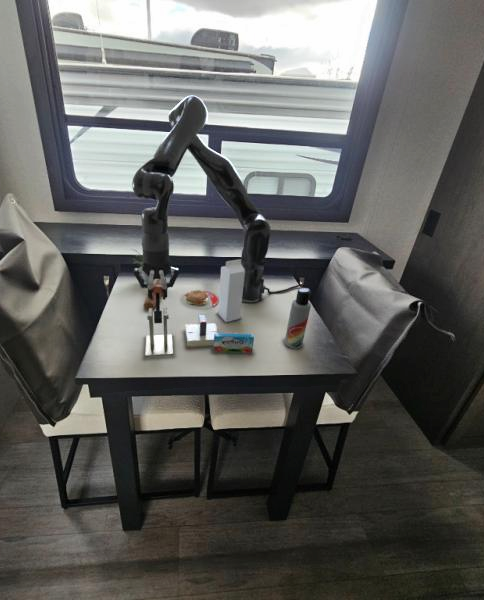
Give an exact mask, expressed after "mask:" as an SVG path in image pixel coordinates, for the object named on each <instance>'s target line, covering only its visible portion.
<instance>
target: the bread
mask: <svg viewBox="0 0 484 600" xmlns="http://www.w3.org/2000/svg"><path fill="white" fill-rule="evenodd" d="M156 285H160V286H161V287H162V288H163V285H162V281H161V279H155V280H153V282H152V289H153V287H154V286H156ZM162 297H163V292H162V294H161V295H160V299H161V298H162ZM143 308H144V309H145V310H146V311H149V308H153V311H155V309H156V295H155V294H153V300H150V298H148V293H147V294H146V296H145V300H144V303H143Z"/></svg>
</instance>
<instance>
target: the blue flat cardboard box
mask: <svg viewBox="0 0 484 600" xmlns="http://www.w3.org/2000/svg"><path fill="white" fill-rule="evenodd" d="M254 341H255V336H254V334H252V333H215V334H214V343H213V345H212V351H219V352H220V351H221V352H222V351H223V352H224V351H225V352H226V354H252V353H253V349H254Z"/></svg>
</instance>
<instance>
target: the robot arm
mask: <svg viewBox="0 0 484 600" xmlns="http://www.w3.org/2000/svg"><path fill="white" fill-rule="evenodd" d="M208 113H209V112H208V109H207V107H206V105H205V103H204V102H203V100H202V99H201V98H200V97H198V96H196V95H188V96H186V97H184V98H183V99H182V100H181V101H180V102H179V103H178V104H176V105H175V106H174V107H173V109H171V110H170V112H168V122H169V125H170V127H171V129H170V131H169V133H168V134H167V135H166V136H165V138H164V139H163V140H162V141H161V142H160V144H159V145H158V147H157V148H156V151H155V153H154V154H153V156H152V157H151V158H150V159H149V160H147V162H145V163H144V164H143V165H141V167H139V168H138V170H137V171H136V172H135V173H134V176H133V177H132V182H131V186H132V191H133V193H134V194H135V196H136V197H138V198H139V199H143V200H150V201H156V205H155V207H153V206H152V207H146V208H144V209H143V210H142V211H141V230H142V231H141V243H142V244H141V248H142V257H143V261H142V262H143V264H142V267H140V266H139V267H134V269H133V275H134V277H135V278H136V280H137V282H138V284H139V286H140V287H141V289H146V290H147V294H148V298H150V300H153V292H152V282H153V279H161V281H162V285H163V294H162V300H165V301H166V299H167V298H168V289H170V288H173V287H174V285H175V283H176V281H177V279H178V276H179V274H180V269H179V267H177V266H176V267H173V266H172V265H171V263H170V237H169V223H168V222H169V221H168V217H169V211H170V206H171V203H172V199H173V195H174V190H175V184H174V181H173V177H174V176H175V174H176V173H177V170H178V168H179V166H180V164H181V163H182V160H183V158H184V156H185V155H186V152H187V150H188V152H189V153H190V154H191V156H192V157H193V158H194V159H195V161H196V162H197V164H198V165H199V166H200V168H201V169H202V171H203V172H204V174H205V175H206V177H207V179H208V181H209V182H210V183H211V185H212V186H213V188H214V190H215V191H216V192H217V193H218V195H219V197H220V198H221V199H222V200H223V201H224V202H225V203H226V204H227V205H228V207H229V208H230V209H231V210H232V211H233V213H234V214H235V216H236V218H237V220H238V221H239V223H240V226H241V227H242V230H243V233H244V239H243V247H242V250H241V253H240V254H241V255H240V259H241V265H242V267H243V268H244V270H245V276H244V285H243V294H242V302H244V303H249V304H251V303H252V304H253V303H257V302H259V301H262V298H263V294H265V291H267V293H268V294H270V295H271V294H280V293H284V292H287V291H290V290H293V289H296V288H299V287H302V288H307V285H305V284H304V283H299V284H297V285H293V286H290V287H288V288H284V289H281V290H276V291H270V288H268V287H266V286H265V284H264V283H265V279H264V271H265V270H264V269H265V263H266V257H267V254H268V251H269V245H270V241H271V240H270V239H271V231H272V230H271V225H270V223H269V222H268V220H267V219H266V218H265V216H263V214H262V213H261V212H260V211H259V210H258V208H257V207H256V205H255V204H254V203H253V202H252V199H251V198H250V196H249V194H248V191H247V189H246V187H245V186H246V185H244V182H243V180H242V178H241V177H240V174H239V172H238V171H237V169H236V168H235V167H234V165H233V163H232V161H230V159H228V158H227V157H225V156H224V155H222V154H221V153H218V152H216V151H215V150H213V149H211V148H210V147H209V146H207V145H206V144H205V142H203V140H202V139H201V138H200V136H199V134H198V133H199V132H200V131H201V130H202V129H203V128H204V126H205V125H206V124H207V123H208V119H209V114H208ZM142 271H144V272H145V273H146V275H147V276H148V277H149V278H148V283H147V282H145V281H144V279H143V277H142ZM170 272H171V276H170V279H169V281H167V276H168V274H169V273H170Z"/></svg>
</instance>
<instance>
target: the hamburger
mask: <svg viewBox="0 0 484 600" xmlns="http://www.w3.org/2000/svg"><path fill="white" fill-rule="evenodd" d="M183 296H184V297H186V303H187V304H189V305H194V306H195V305H196V306H201V305H208V304H209V298H210V301H211V305H212V306H213V307H214V306H216V305H217V304H218V303H219V297H218V296H217V295H216V294H213V293H211V292H208V291H203V290H201V289H195V290H191V291H189V292H188V293H186V294H184V295H183Z"/></svg>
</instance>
